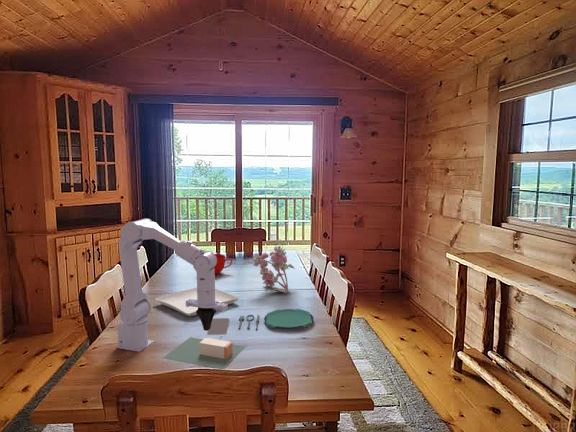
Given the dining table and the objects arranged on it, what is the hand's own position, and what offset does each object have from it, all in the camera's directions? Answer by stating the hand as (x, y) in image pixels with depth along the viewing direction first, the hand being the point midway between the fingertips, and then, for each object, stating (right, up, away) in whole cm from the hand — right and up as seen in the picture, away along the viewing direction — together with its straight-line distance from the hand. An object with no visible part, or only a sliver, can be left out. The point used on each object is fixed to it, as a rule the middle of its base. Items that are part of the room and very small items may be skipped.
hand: (207, 329), depth 130 cm
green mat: (-1, -8, +1) cm, 8 cm away
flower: (+19, 0, +68) cm, 71 cm away
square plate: (-14, -3, +47) cm, 49 cm away
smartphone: (0, -6, +22) cm, 23 cm away
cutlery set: (+22, -6, +28) cm, 36 cm away
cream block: (-2, -6, +1) cm, 6 cm away
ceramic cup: (-14, +4, +96) cm, 97 cm away
